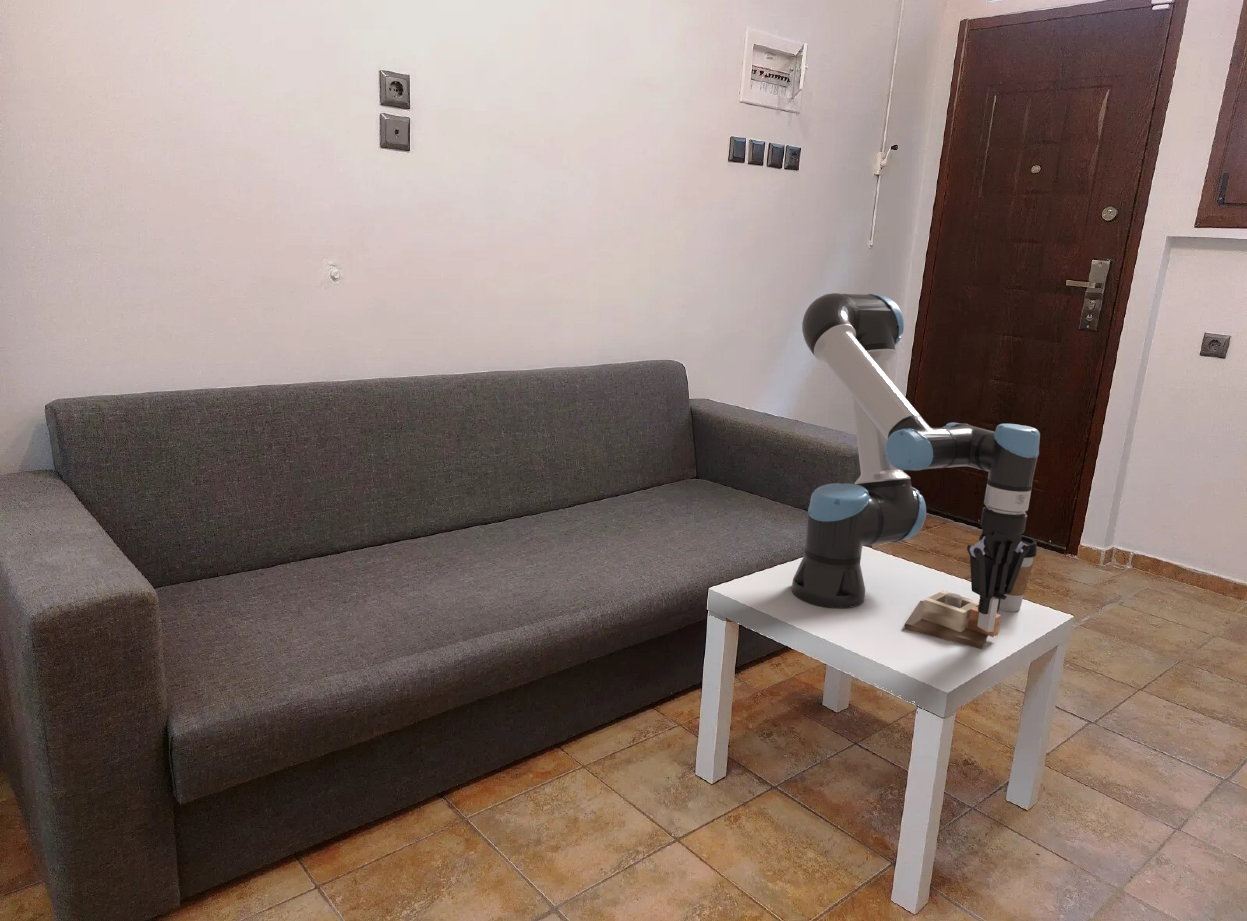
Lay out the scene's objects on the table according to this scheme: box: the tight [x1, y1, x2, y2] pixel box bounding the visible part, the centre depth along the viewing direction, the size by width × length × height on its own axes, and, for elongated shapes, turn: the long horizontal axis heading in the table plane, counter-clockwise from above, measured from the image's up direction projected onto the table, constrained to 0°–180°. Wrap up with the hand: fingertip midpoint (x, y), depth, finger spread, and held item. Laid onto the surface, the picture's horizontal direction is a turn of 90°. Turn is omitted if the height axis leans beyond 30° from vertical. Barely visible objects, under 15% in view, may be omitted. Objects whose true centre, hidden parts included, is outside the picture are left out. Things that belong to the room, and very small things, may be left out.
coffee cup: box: [999, 535, 1038, 612], centre depth 181 cm, size 8×8×15 cm
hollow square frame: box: [922, 590, 1001, 638], centre depth 168 cm, size 13×8×4 cm, turn 44°
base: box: [903, 592, 989, 650], centre depth 170 cm, size 14×14×6 cm
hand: (985, 628), depth 163 cm, fingers closed
